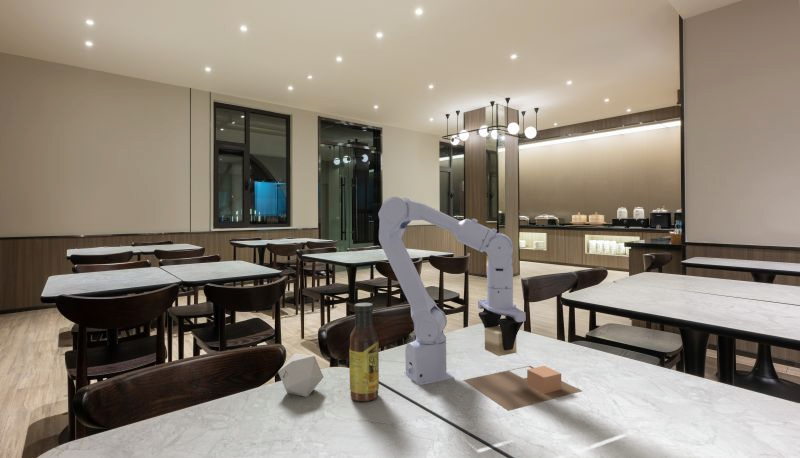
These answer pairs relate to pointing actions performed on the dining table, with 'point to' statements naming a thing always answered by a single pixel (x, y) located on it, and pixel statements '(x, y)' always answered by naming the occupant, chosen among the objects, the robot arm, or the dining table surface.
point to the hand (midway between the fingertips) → (500, 345)
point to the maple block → (496, 342)
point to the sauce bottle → (364, 355)
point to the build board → (515, 389)
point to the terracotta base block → (544, 379)
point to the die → (300, 374)
